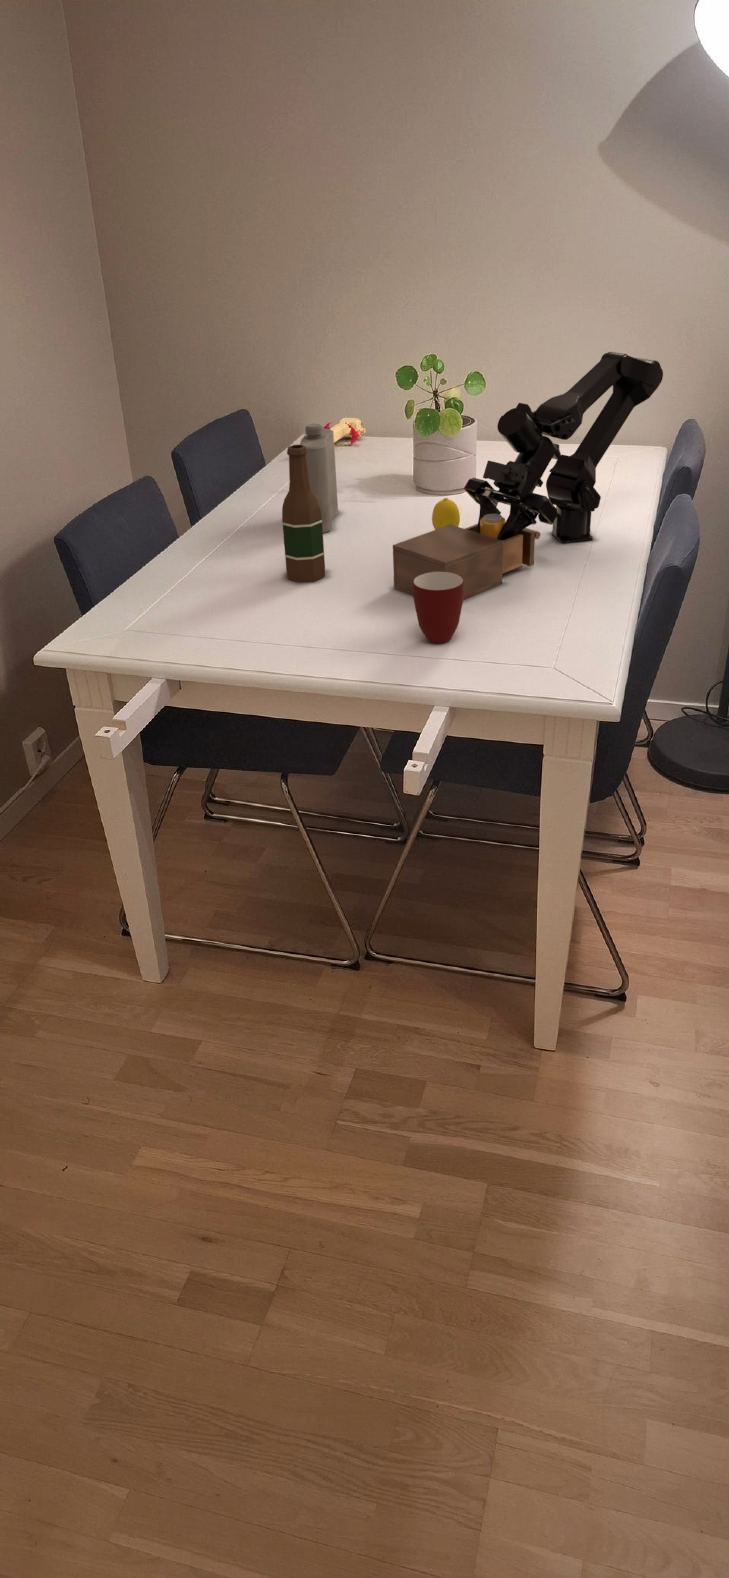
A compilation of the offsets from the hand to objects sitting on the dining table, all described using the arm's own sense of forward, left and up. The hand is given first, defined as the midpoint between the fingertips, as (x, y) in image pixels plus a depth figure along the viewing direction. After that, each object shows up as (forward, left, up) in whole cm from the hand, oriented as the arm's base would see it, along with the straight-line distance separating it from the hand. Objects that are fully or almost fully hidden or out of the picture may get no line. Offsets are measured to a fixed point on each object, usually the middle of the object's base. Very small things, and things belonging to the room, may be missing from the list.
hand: (487, 540), depth 200 cm
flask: (+26, -37, -6) cm, 46 cm away
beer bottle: (+33, -7, -6) cm, 34 cm away
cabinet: (+9, +5, -6) cm, 12 cm away
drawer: (-2, -1, -5) cm, 5 cm away
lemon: (+3, -20, -6) cm, 21 cm away
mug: (+15, +26, -6) cm, 31 cm away
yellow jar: (-1, -1, -3) cm, 3 cm away
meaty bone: (+14, -95, -6) cm, 96 cm away
